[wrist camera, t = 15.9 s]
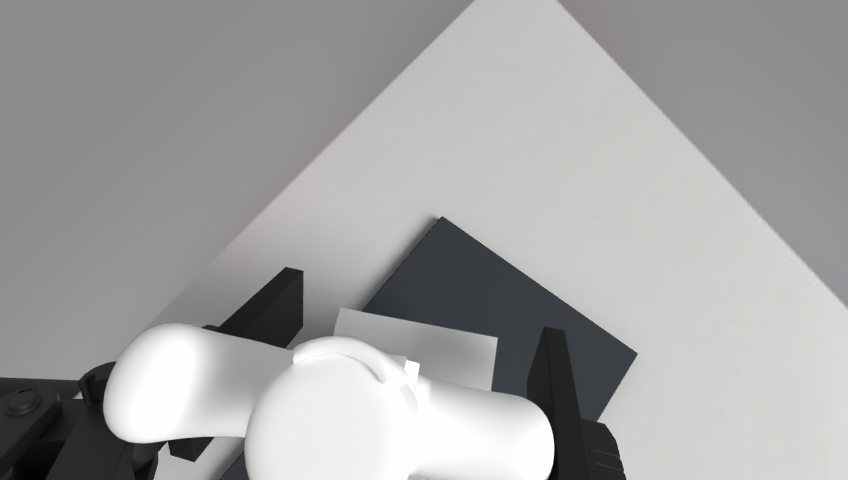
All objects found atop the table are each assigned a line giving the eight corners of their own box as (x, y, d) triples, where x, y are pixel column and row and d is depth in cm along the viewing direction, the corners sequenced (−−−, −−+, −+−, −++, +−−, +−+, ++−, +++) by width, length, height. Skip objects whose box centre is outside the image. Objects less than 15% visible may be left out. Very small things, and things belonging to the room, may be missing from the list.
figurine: (491, 510, 19) (630, 851, 5) (296, 464, 20) (-60, 630, 6) (510, 351, 21) (638, 263, 7) (336, 317, 22) (153, 184, 8)
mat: (416, 711, 19) (415, 721, 18) (216, 487, 22) (210, 490, 22) (633, 354, 24) (638, 353, 23) (442, 219, 27) (441, 215, 27)
